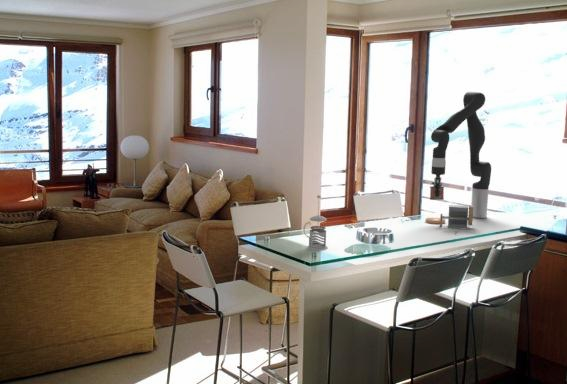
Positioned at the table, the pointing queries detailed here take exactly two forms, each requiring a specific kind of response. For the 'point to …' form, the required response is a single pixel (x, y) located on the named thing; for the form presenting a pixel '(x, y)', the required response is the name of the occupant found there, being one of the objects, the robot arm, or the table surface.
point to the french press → (312, 243)
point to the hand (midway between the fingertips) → (436, 195)
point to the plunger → (470, 217)
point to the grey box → (457, 212)
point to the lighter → (432, 192)
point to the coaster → (434, 220)
